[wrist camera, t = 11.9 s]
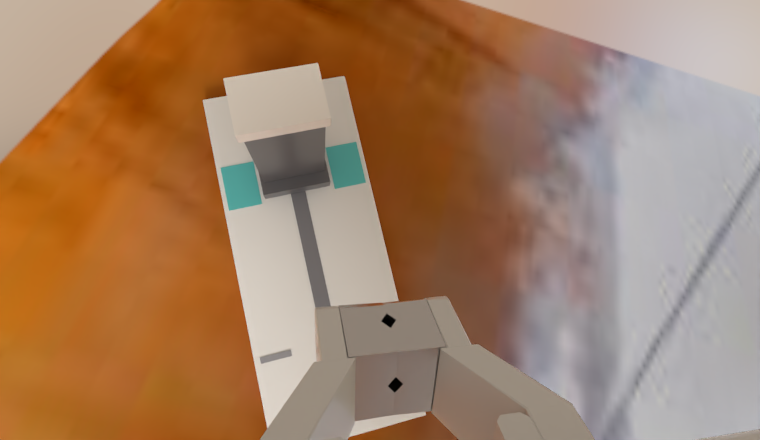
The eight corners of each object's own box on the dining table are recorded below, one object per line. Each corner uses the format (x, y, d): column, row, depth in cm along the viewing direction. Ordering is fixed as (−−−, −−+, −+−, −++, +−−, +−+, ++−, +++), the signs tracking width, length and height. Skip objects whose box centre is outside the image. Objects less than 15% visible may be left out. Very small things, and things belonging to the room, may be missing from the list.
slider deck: (421, 409, 33) (426, 415, 32) (275, 451, 32) (273, 459, 30) (343, 84, 36) (344, 75, 35) (207, 108, 35) (202, 99, 33)
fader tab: (329, 185, 33) (333, 130, 22) (265, 198, 32) (237, 148, 22) (317, 130, 34) (315, 50, 23) (253, 142, 33) (220, 66, 22)
